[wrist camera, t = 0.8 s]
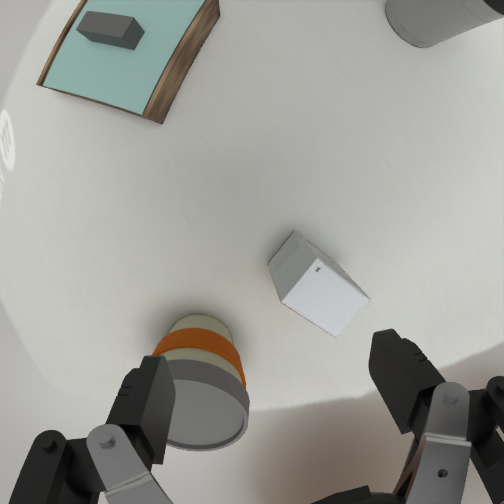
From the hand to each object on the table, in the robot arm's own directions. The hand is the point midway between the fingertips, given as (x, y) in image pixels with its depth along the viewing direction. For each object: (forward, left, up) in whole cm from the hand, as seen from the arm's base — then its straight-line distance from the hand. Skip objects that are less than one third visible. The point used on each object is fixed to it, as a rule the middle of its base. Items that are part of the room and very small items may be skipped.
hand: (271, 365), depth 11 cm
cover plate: (-15, -22, -21) cm, 34 cm away
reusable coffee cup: (+18, +1, -27) cm, 32 cm away
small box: (+2, +9, -27) cm, 28 cm away
